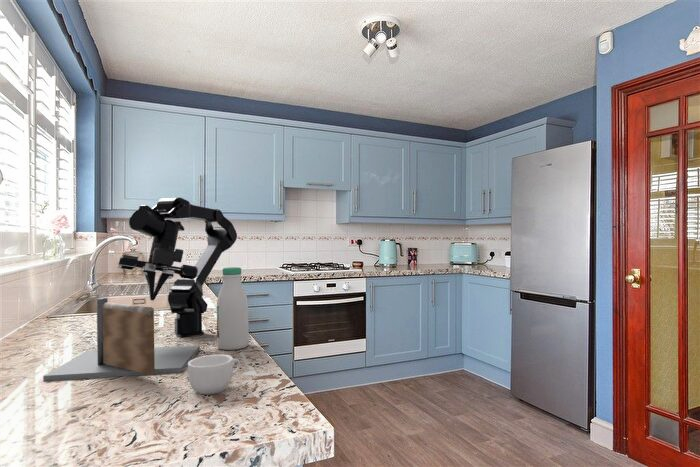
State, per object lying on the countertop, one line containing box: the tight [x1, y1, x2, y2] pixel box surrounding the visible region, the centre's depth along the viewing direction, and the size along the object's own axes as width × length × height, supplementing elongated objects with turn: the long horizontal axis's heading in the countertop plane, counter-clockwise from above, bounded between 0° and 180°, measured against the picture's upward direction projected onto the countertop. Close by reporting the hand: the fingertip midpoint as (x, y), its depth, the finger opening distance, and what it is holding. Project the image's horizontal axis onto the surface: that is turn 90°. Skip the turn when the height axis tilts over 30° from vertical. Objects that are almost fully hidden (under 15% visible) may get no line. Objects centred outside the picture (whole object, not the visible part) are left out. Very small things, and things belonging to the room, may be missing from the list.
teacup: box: [187, 353, 241, 396], centre depth 76 cm, size 10×8×5 cm
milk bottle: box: [216, 266, 250, 351], centre depth 106 cm, size 8×8×20 cm
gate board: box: [42, 344, 201, 382], centre depth 93 cm, size 26×18×1 cm
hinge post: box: [96, 297, 108, 365], centre depth 89 cm, size 2×2×14 cm
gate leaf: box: [102, 302, 155, 375], centre depth 85 cm, size 15×2×13 cm, turn 60°
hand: (152, 300), depth 107 cm, fingers closed
